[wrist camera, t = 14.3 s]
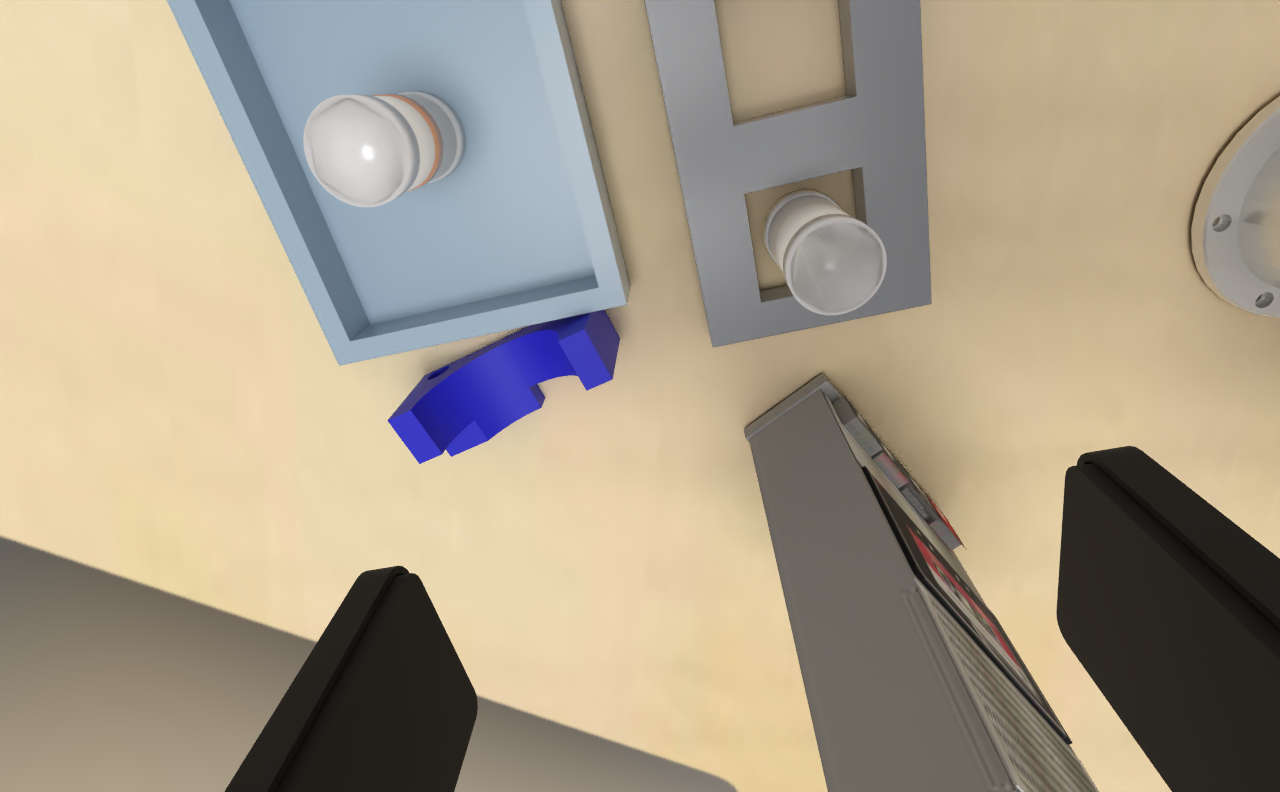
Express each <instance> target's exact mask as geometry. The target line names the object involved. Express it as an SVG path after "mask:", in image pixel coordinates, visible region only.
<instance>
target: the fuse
mask: <svg viewBox="0 0 1280 792" xmlns="http://www.w3.org/2000/svg"><path fill="white" fill-rule="evenodd" d="M763 240H764V244H765V247H766V249H767V251H768V252H769V254H770V256H771V258H772V259H773V260H774V262H775V263H776V264H777V265H778V266H779V267H780V269H781V271H782V272H783V274H784V278H785V281H786V283H787V285H788V287H789V289H790V290H791V292H792V294H793V296H794V297H795V298H796V300H797V301H798V302H799V303H800V304H801V305H802V306H804V307H805V308H806V309H808V310H810V311H812V312H815V313H818V314H822V315H840V314H844V313H848V312H850V311H853V310H855V309H857V308H859V307H860V306H862V305H863V304H865V303H866V302H867V301H868V300H869V299H870V298H871V297H872V296H873V295H874V294H875V293H876V291H877V290H878V289H879V287H880V285H881V283H882V281H883V278H884V275H885V272H886V265H887V257H886V251H885V248H884V245H883V243H882V241H881V239H880V238H879V236H878V235H877V234H876V233H875V231H873V230H872V229H871V228H870V227H868V226H867V225H866V224H864V223H863V222H862V221H860V220H858V219H857V218H854V217H852V216H850V215H848V214H847V213H846V212H844V211H843V210H842V209H841V208H840V207H839V206H838V205H837V203H835V202H834V201H833V200H832V199H830V198H829V197H828V196H826V195H825V194H823V193H821V192H818V191H814V190H797V191H794V192H791V193H789V194H787V195H785V196H783V197H782V198H780V199H779V200H778V201H777V202H776V203H775V204H774V205H773V206H772V207H771V209H770V210H769V212H768V214H767V216H766V218H765V221H764V226H763Z"/></svg>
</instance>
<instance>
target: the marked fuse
mask: <svg viewBox="0 0 1280 792" xmlns="http://www.w3.org/2000/svg"><path fill="white" fill-rule="evenodd" d="M303 144H304V152H305V156H306V159H307V162H308V165H309V167H310V169H311V171H312V173H313V175H314V176H315V178H316V179H317V180H318V182H319V183H320V184H321V185H322V186H323V187H324V188H325V190H326V191H328V192H329V193H330V194H331V195H333V196H334V197H336V198H337V199H339V200H341V201H343V202H345V203H347V204H350V205H353V206H357V207H376V206H380V205H383V204H385V203H388V202H390V201H392V200H394V199H396V198H398V197H400V196H402V195H403V194H404V193H406V192H408V191H411V190H414V189H416V188H419V187H421V186H423V185H425V184H426V183H431V182H435V181H437V180H440V179H442V178H444V177H446V176H448V175H450V174H451V173H453V172H454V171H455V170H456V169H457V167H458V166H459V165H460V163H461V161H462V159H463V156H464V153H465V147H466V137H465V131H464V127H463V125H462V122H461V120H460V118H459V116H458V115H457V113H456V112H455V110H454V109H453V108H452V107H451V106H450V105H449V104H448V103H447V102H446V101H444V100H443V99H442V98H440V97H438V96H436V95H434V94H431V93H428V92H422V91H414V92H403V93H399V94H379V95H373V96H370V95H364V94H353V95H339V96H334V97H331V98H328V99H326V100H324V101H323V102H321V103H320V104H319V105H318V106H316V108H315V109H314V110H313V111H312V112H311V114H310V116H309V117H308V120H307V122H306V125H305V129H304V136H303Z"/></svg>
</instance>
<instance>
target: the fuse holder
mask: <svg viewBox="0 0 1280 792" xmlns="http://www.w3.org/2000/svg"><path fill="white" fill-rule="evenodd" d="M645 5H646V10H647V15H648V20H649V25H650V30H651V36H652V41H653V46H654V51H655V56H656V61H657V66H658V71H659V76H660V81H661V86H662V92H663V97H664V102H665V107H666V112H667V117H668V122H669V127H670V132H671V137H672V142H673V148H674V153H675V158H676V163H677V168H678V173H679V178H680V183H681V188H682V193H683V199H684V204H685V209H686V214H687V219H688V224H689V229H690V234H691V239H692V244H693V249H694V255H695V260H696V265H697V270H698V275H699V280H700V285H701V290H702V295H703V300H704V306H705V311H706V316H707V321H708V326H709V331H710V336H711V341H712V346H713V347H718V346H723V345H728V344H733V343H738V342H743V341H748V340H753V339H758V338H763V337H768V336H773V335H778V334H783V333H788V332H793V331H798V330H803V329H808V328H813V327H818V326H823V325H828V324H833V323H838V322H843V321H848V320H853V319H858V318H863V317H868V316H873V315H878V314H884V313H889V312H894V311H899V310H904V309H909V308H914V307H919V306H924V305H929V304H931V278H930V251H929V225H928V198H927V172H926V145H925V118H924V92H923V65H922V39H921V12H920V0H838V5H839V17H840V28H841V40H842V52H843V64H844V76H845V87H846V96H842V97H838V98H833V99H829V100H825V101H821V102H817V103H813V104H809V105H805V106H801V107H797V108H793V109H789V110H784V111H780V112H776V113H772V114H768V115H764V116H760V117H756V118H752V119H748V120H744V121H740V122H735V123H733V119H732V113H731V106H730V100H729V94H728V87H727V81H726V74H725V68H724V62H723V55H722V49H721V43H720V36H719V30H718V23H717V17H716V11H715V4H714V0H645ZM850 169H852V170H853V182H854V194H855V205H856V217H857V219H858V220H860V221H862V222H863V223H864V224H866V225H867V226H868V227H870V228H871V229H872V230H873V231H875V233H876V234H877V235H878V236H879V238H880V239H881V241H882V243H883V245H884V248H885V251H886V257H887V265H886V272H885V275H884V278H883V281H882V283H881V285H880V287H879V289H878V290H877V291H876V293H875V294H874V295H873V296H872V297H871V298H870V299H869V300H868V301H867V302H866V303H865V304H863V305H862V306H860V307H859V308H857V309H855V310H853V311H850V312H848V313H844V314H840V315H822V314H818V313H815V312H812V311H810V310H808V309H806V308H805V307H804V306H802V305H801V304H800V303H799V302H798V301H797V300H796V298H795V297H794V296H793V294H792V292H791V290H790V289H789V287H788V285H786V286H782V287H777V288H772V289H767V290H763V291H759V286H758V279H757V273H756V266H755V260H754V254H753V247H752V241H751V234H750V228H749V222H748V215H747V209H746V202H745V196H744V194H746V193H750V192H755V191H759V190H763V189H768V188H772V187H776V186H781V185H785V184H789V183H794V182H798V181H802V180H807V179H811V178H815V177H820V176H824V175H829V174H833V173H837V172H842V171H846V170H850Z"/></svg>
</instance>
